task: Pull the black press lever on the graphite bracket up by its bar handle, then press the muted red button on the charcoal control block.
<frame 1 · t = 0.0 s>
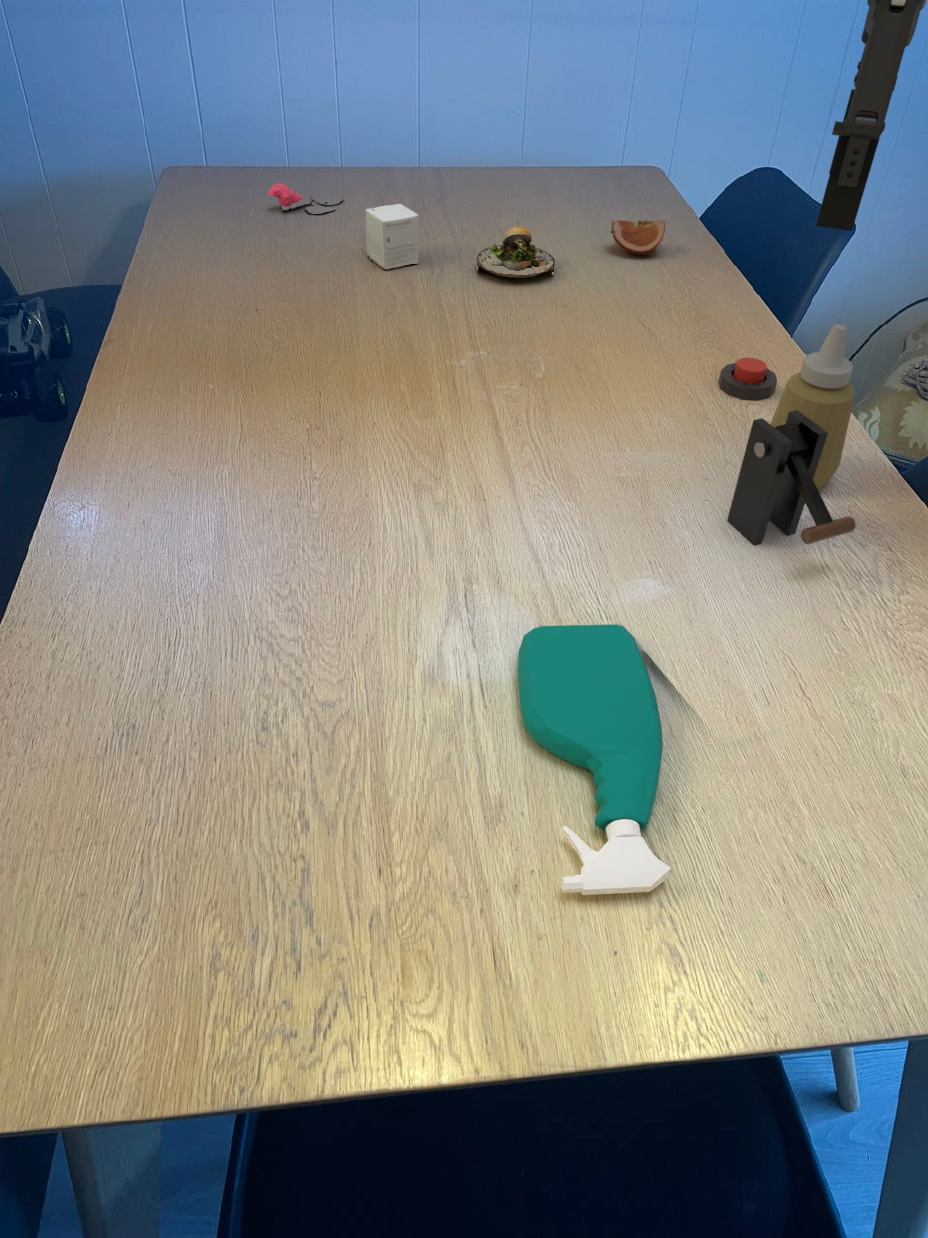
hand: (839, 199, 77), 30 cm above the table, tool pointing down, fingers open, 13 cm apart
pink fuzzy curved piece: (308, 206, 160), on the table
product box: (393, 262, 143), on the table
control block: (753, 405, 113), on the table
squeeze bottle: (790, 487, 100), on the table
button: (750, 370, 112), point 4 cm above the table, slide at 0.2 cm
bracket: (757, 538, 93), on the table
burger: (515, 271, 141), on the table
fruit slice: (633, 252, 148), on the table
lever: (804, 482, 85), point 9 cm above the table, hinge at -30.0°
spray bottle: (594, 759, 72), on the table
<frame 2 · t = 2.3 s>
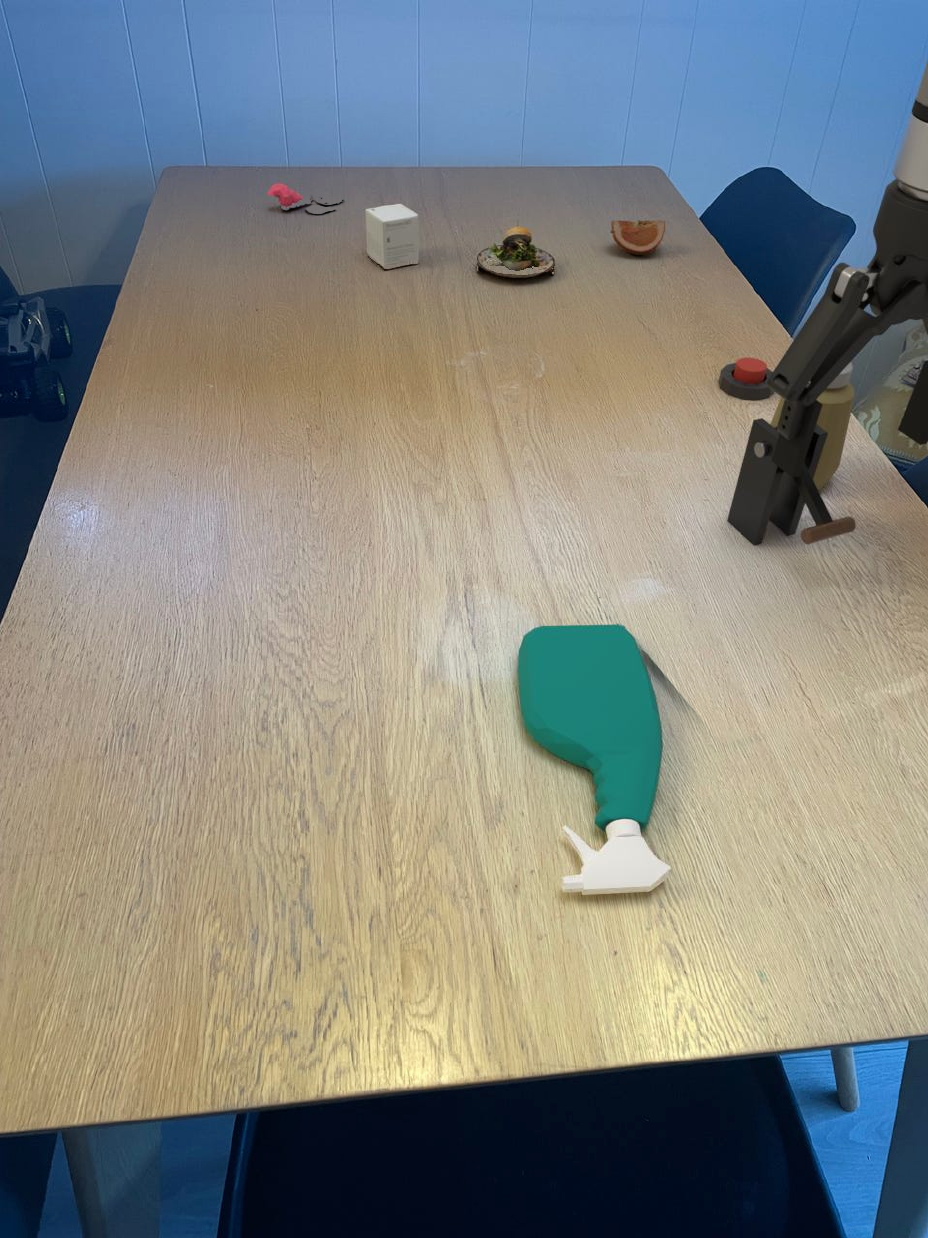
hand: (850, 452, 78), 14 cm above the table, tool pointing down, fingers open, 13 cm apart
nothing on the table moved.
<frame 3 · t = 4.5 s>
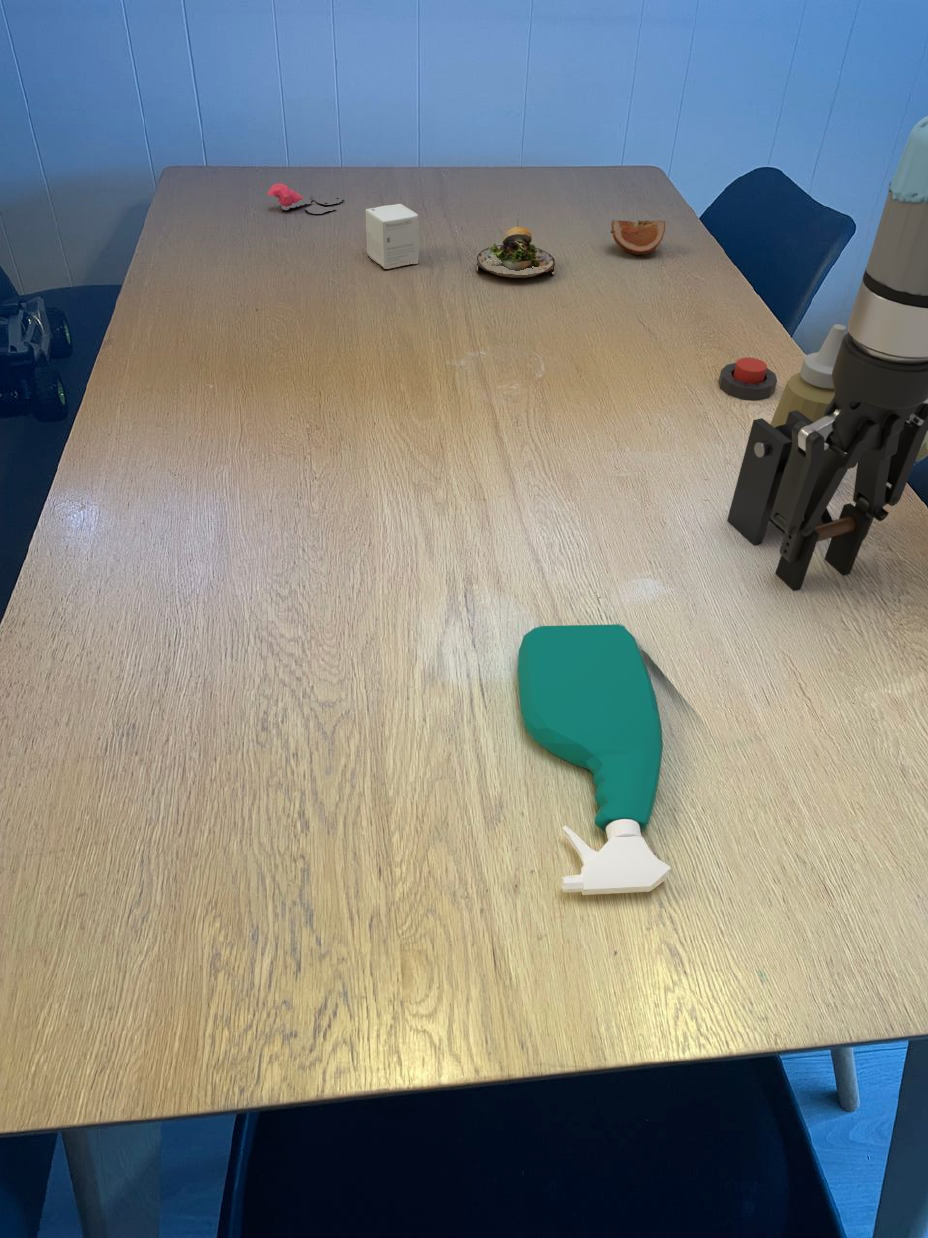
hand: (812, 575, 87), 1 cm above the table, tool pointing down, fingers closed on lever, 5 cm apart
lever: (804, 482, 85), point 9 cm above the table, hinge at -30.0°, touching gripper
everything else where it was.
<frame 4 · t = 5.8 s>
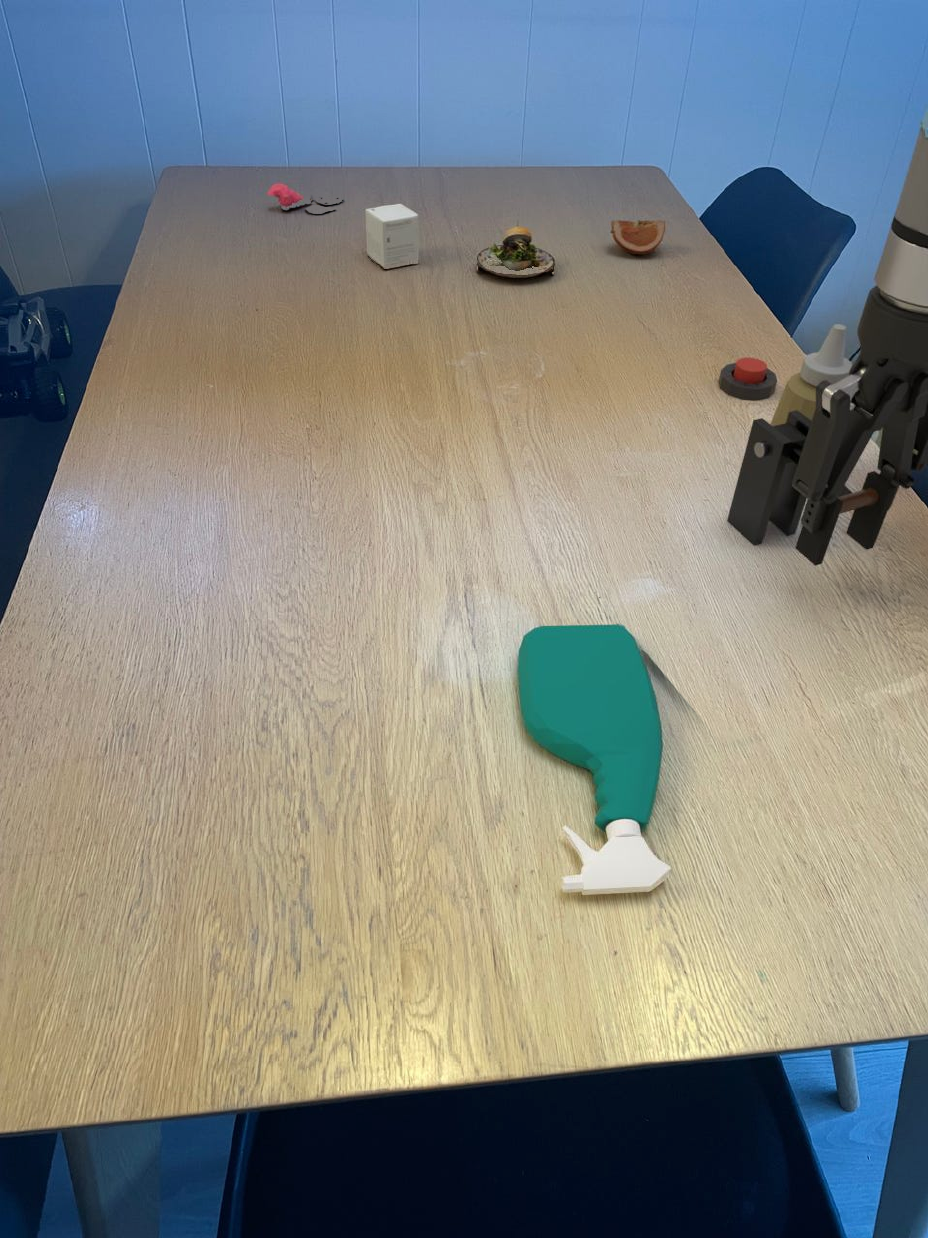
hand: (834, 547, 83), 5 cm above the table, tool pointing down, fingers closed on lever, 5 cm apart
lever: (814, 469, 83), point 11 cm above the table, hinge at -4.2°, touching gripper
everything else where it was.
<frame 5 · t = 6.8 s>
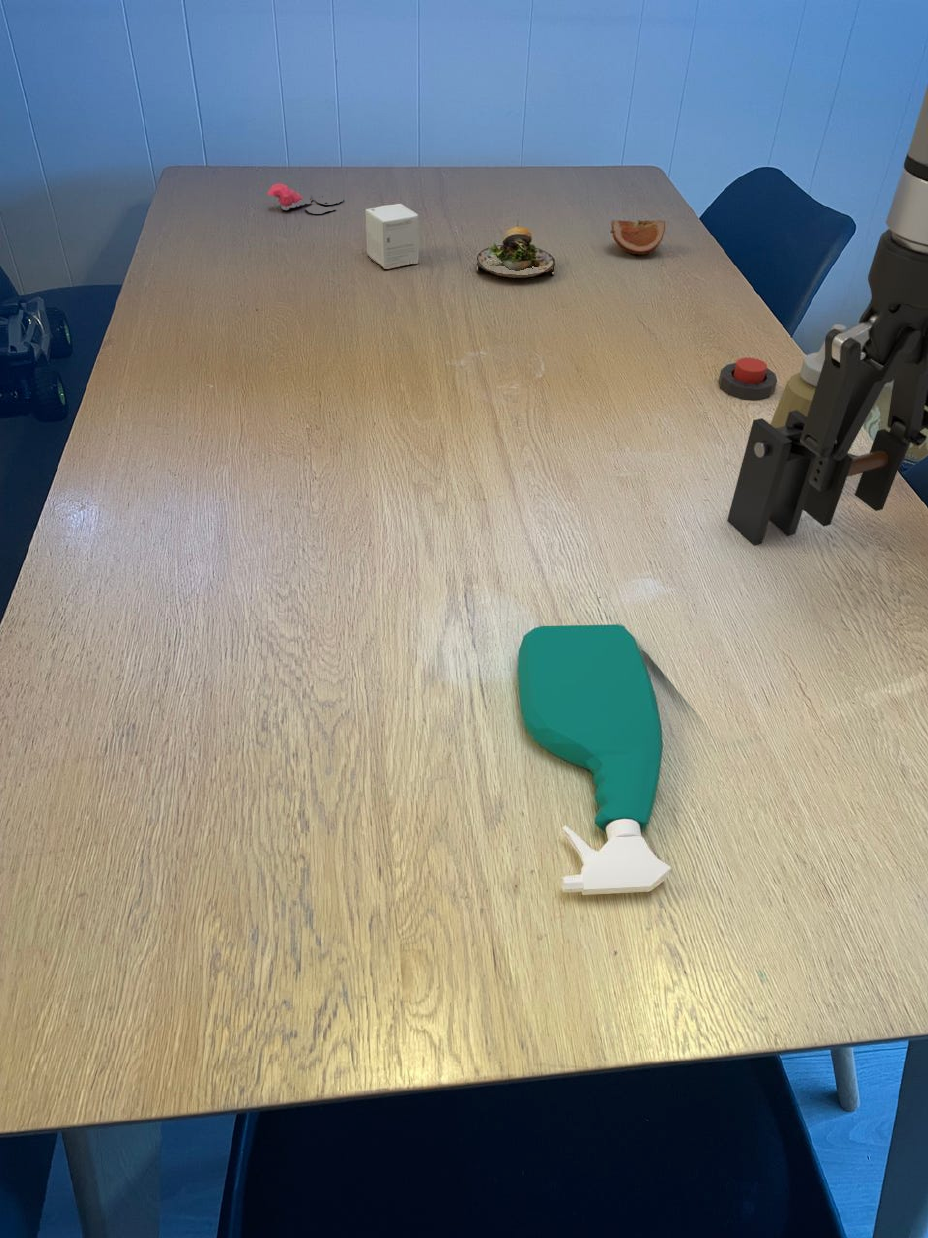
hand: (842, 508, 81), 9 cm above the table, tool pointing down, fingers closed on lever, 5 cm apart
lever: (817, 452, 82), point 12 cm above the table, hinge at 18.5°, touching gripper
everything else where it was.
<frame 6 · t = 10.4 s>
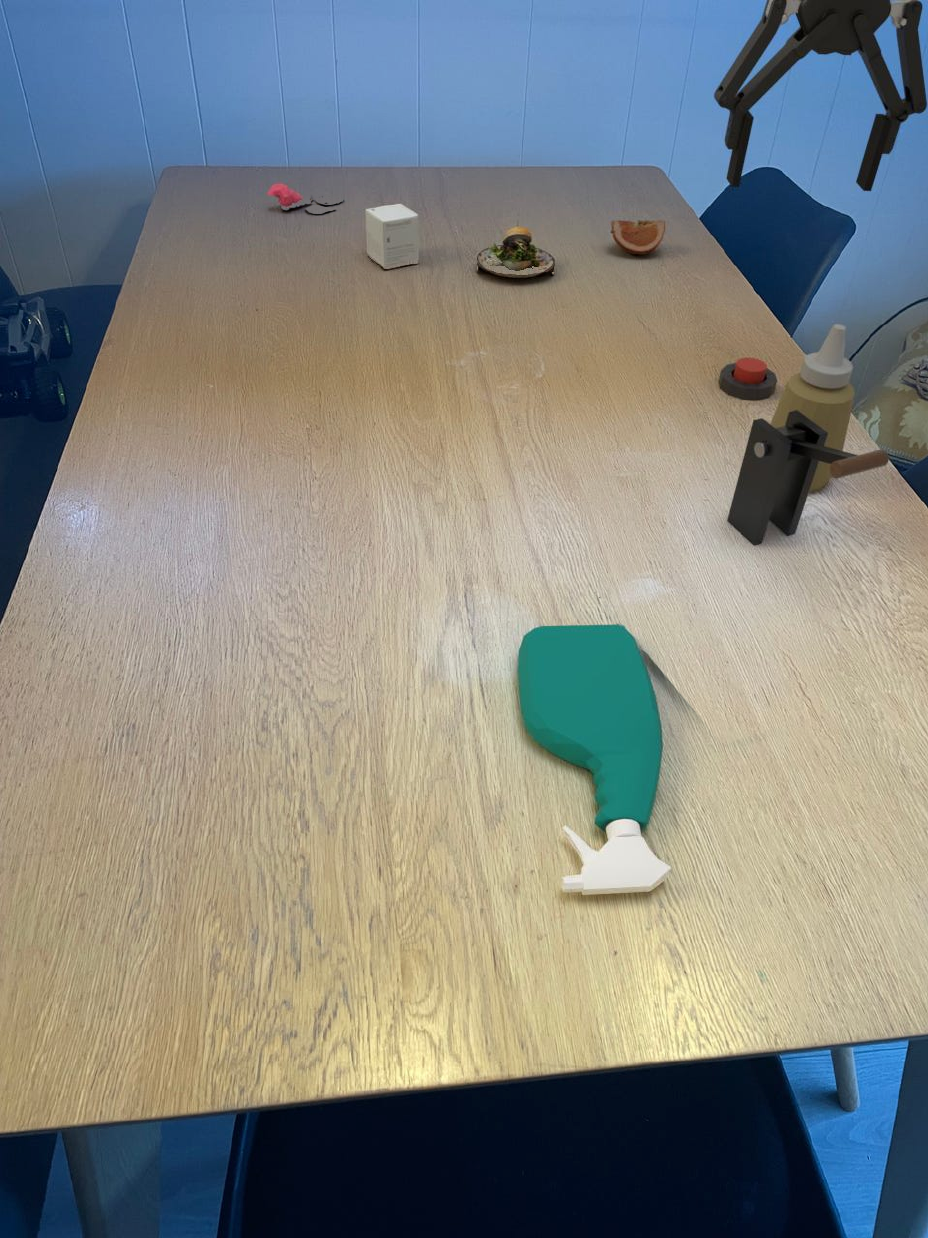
hand: (797, 185, 97), 25 cm above the table, tool pointing down, fingers open, 13 cm apart
lever: (817, 452, 82), point 12 cm above the table, hinge at 19.0°
everything else where it was.
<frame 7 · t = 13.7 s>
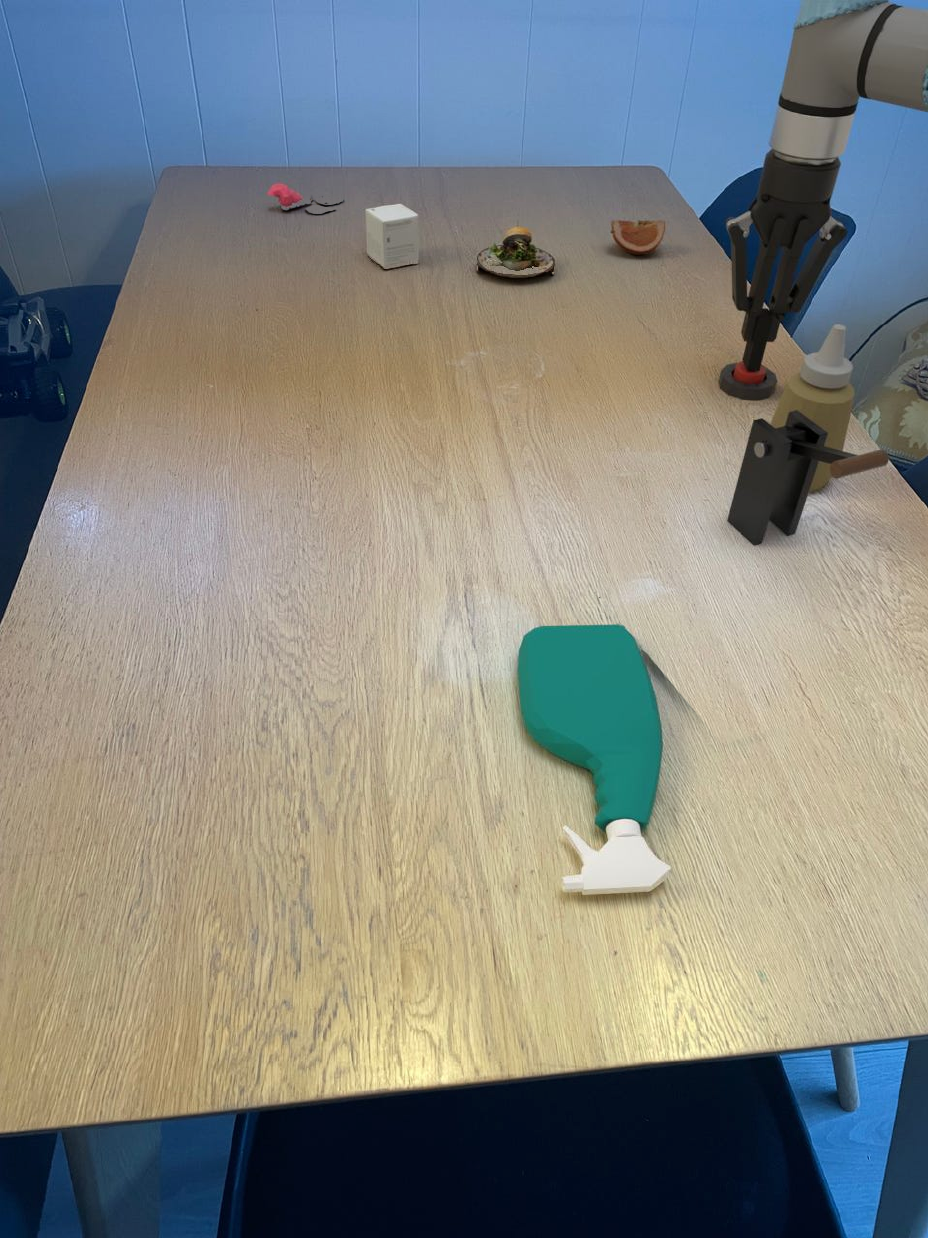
hand: (750, 365, 111), 4 cm above the table, tool pointing down, fingers closed
button: (749, 374, 112), point 3 cm above the table, slide at -0.3 cm, touching gripper
everything else where it was.
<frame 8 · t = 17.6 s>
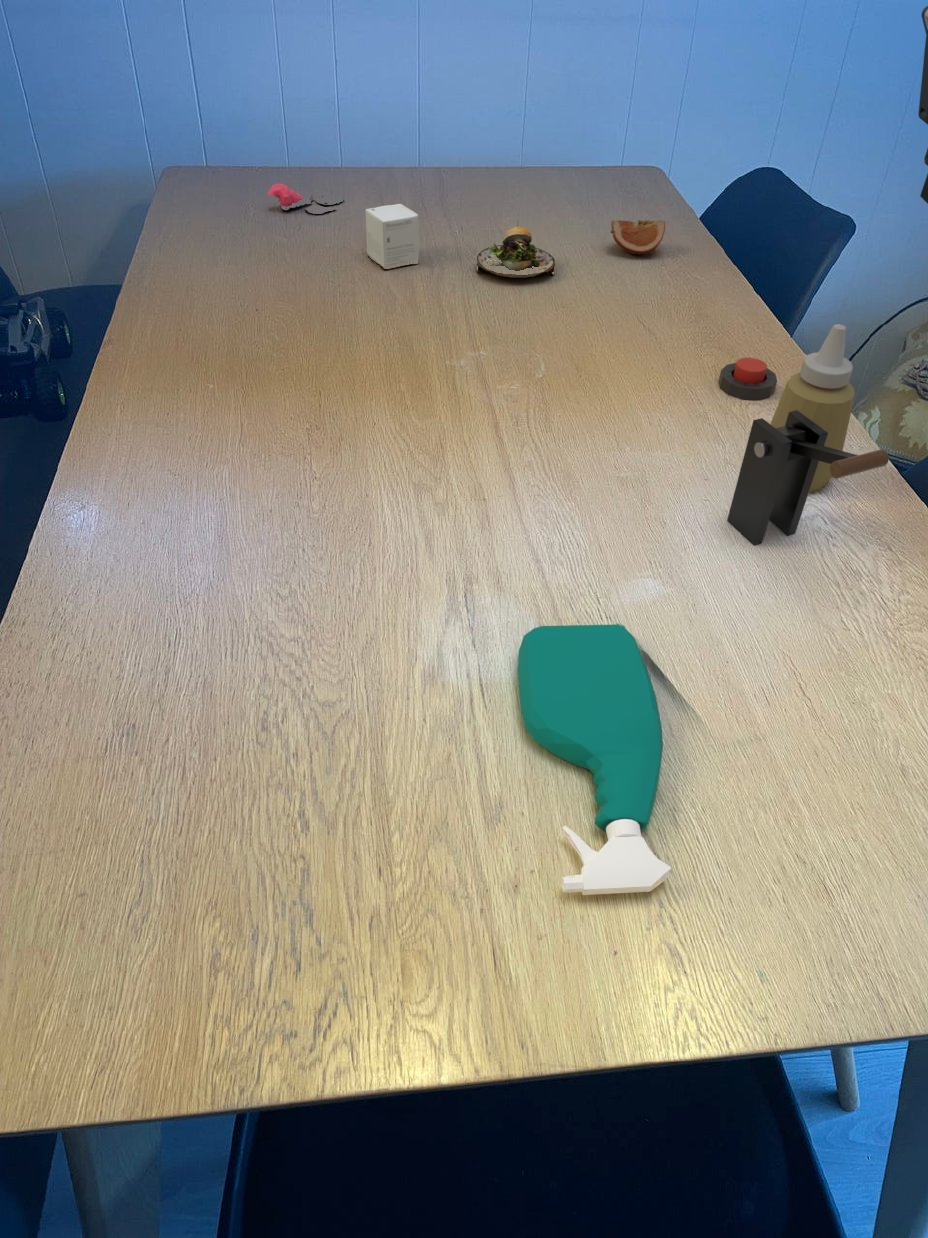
button: (750, 370, 112), point 4 cm above the table, slide at 0.2 cm
everything else where it was.
at the end: lever at +19° (first picture: -30°); button pushed in 1.0 cm at the most during the clip, back to 0.2 cm at the end; button slide at 0.2 cm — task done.
